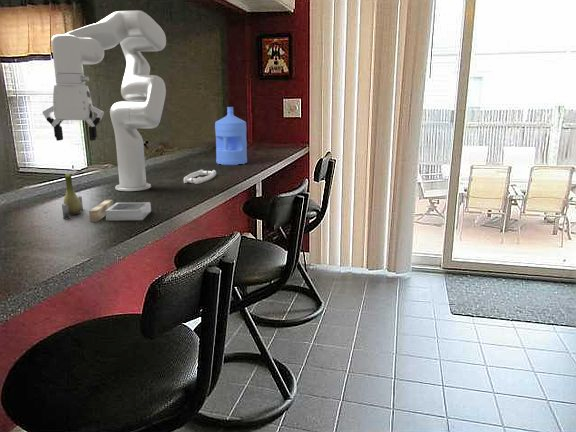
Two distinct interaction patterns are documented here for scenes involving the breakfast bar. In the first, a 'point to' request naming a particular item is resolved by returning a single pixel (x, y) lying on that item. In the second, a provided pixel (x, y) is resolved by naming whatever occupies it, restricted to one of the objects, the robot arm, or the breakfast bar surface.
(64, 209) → the pegs
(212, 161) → the breakfast bar surface
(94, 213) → the door edge rail
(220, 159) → the water jug
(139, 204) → the frame
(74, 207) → the fennel bulb
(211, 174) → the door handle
